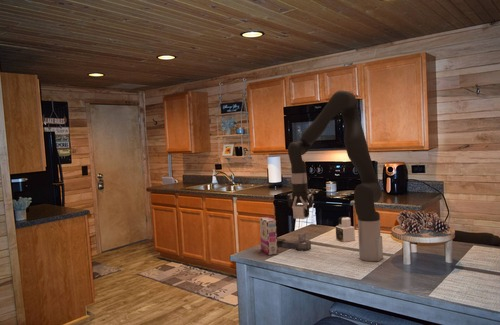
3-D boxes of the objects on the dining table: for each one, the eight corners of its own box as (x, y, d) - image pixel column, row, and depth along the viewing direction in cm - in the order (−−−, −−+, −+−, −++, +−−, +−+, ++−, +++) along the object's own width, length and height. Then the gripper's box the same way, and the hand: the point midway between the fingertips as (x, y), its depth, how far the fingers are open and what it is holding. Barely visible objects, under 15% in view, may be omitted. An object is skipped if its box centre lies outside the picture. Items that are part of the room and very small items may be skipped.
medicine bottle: (335, 239, 202) (334, 216, 201) (347, 237, 204) (346, 215, 203) (343, 242, 195) (342, 219, 194) (355, 240, 197) (354, 217, 196)
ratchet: (313, 247, 189) (313, 232, 189) (306, 251, 182) (305, 236, 182) (275, 242, 202) (275, 228, 201) (267, 246, 195) (266, 232, 195)
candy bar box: (278, 254, 181) (276, 220, 180) (268, 255, 179) (266, 221, 179) (270, 248, 192) (268, 216, 191) (260, 250, 190) (258, 217, 189)
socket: (298, 216, 191) (298, 204, 191) (308, 217, 188) (308, 204, 187) (293, 218, 186) (292, 206, 186) (303, 219, 183) (303, 206, 183)
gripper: (316, 181, 185) (317, 215, 186) (290, 181, 193) (292, 214, 194) (309, 183, 179) (311, 218, 180) (282, 182, 187) (284, 216, 188)
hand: (301, 216), depth 187 cm, fingers closed on socket, 5 cm apart
